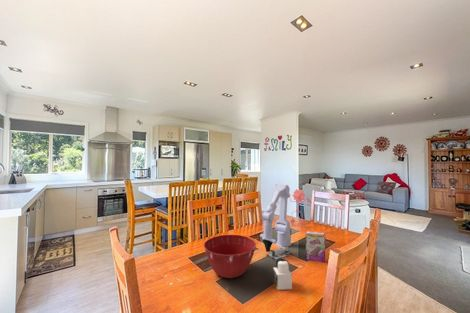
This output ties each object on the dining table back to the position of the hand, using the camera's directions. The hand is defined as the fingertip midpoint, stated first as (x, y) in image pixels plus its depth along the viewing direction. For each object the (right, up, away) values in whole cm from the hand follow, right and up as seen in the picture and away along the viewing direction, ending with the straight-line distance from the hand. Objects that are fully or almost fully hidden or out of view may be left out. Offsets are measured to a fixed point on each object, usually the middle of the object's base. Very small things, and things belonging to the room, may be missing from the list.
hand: (267, 251), depth 137 cm
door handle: (+7, 0, -2) cm, 7 cm away
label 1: (+4, -1, -4) cm, 6 cm away
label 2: (+8, -1, -2) cm, 8 cm away
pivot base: (+11, -2, 0) cm, 12 cm away
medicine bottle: (+1, 0, -36) cm, 36 cm away
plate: (+5, -2, -3) cm, 6 cm away
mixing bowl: (-25, -1, -23) cm, 34 cm away
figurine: (+41, -5, +66) cm, 78 cm away
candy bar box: (+28, -2, -8) cm, 29 cm away
